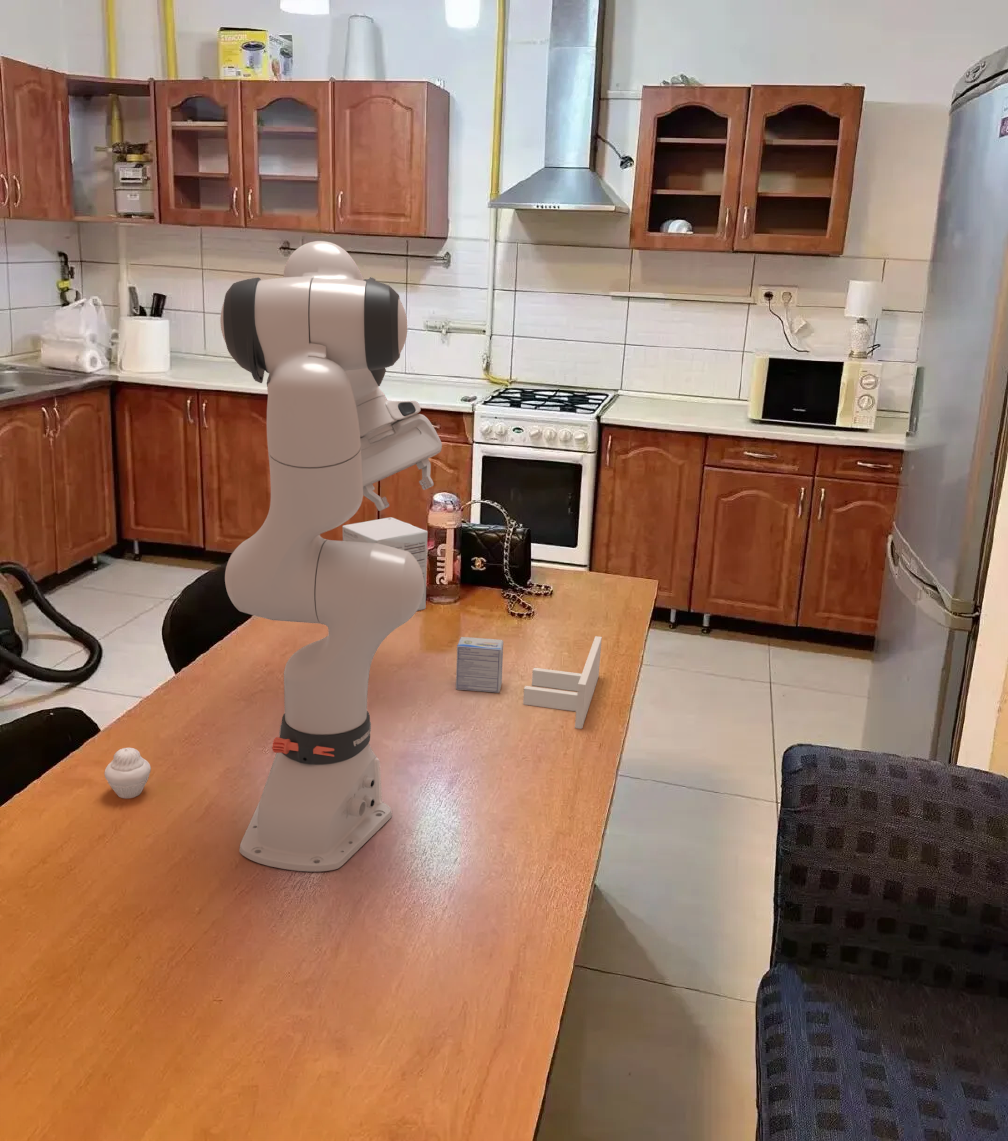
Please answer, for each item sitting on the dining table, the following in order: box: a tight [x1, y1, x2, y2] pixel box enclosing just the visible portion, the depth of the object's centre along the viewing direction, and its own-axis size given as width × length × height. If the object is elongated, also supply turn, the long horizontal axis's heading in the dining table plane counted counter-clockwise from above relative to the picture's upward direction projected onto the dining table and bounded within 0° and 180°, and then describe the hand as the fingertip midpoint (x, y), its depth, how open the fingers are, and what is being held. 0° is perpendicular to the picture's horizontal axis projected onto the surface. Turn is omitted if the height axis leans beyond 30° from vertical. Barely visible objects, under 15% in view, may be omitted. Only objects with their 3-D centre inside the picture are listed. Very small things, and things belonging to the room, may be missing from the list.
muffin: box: [104, 747, 152, 799], centre depth 147 cm, size 6×6×7 cm
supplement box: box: [341, 516, 428, 612], centre depth 222 cm, size 13×13×18 cm
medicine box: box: [455, 636, 504, 694], centre depth 186 cm, size 8×4×9 cm, turn 84°
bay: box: [522, 635, 603, 730], centre depth 184 cm, size 22×11×8 cm, turn 168°
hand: (407, 498), depth 176 cm, fingers open, 8 cm apart
